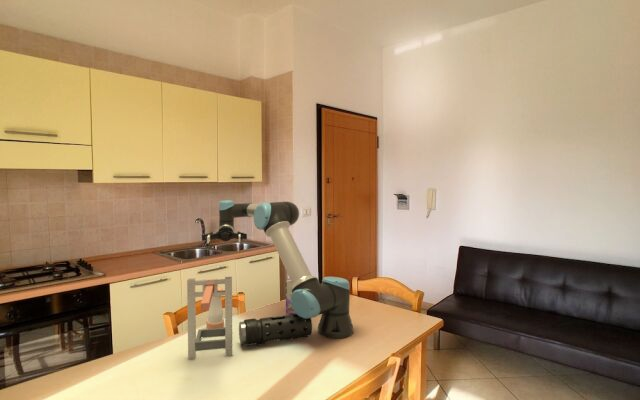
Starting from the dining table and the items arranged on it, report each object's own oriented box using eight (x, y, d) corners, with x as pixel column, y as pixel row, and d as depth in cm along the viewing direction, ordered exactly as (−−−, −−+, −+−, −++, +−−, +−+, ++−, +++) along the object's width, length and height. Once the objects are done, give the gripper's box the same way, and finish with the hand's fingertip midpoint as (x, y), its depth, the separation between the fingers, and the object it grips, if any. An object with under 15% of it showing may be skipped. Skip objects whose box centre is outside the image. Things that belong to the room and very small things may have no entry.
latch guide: (189, 356, 133) (188, 278, 131) (232, 352, 136) (231, 276, 135) (188, 359, 131) (187, 280, 129) (232, 355, 134) (231, 278, 132)
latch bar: (203, 293, 134) (203, 279, 134) (217, 292, 135) (217, 279, 135) (196, 315, 112) (196, 299, 112) (213, 314, 113) (213, 298, 113)
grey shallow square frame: (198, 336, 150) (198, 329, 150) (229, 334, 153) (229, 327, 153) (194, 350, 138) (194, 342, 138) (228, 347, 141) (228, 340, 140)
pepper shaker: (207, 333, 153) (206, 288, 152) (205, 326, 160) (205, 284, 159) (225, 330, 156) (224, 286, 155) (222, 324, 163) (222, 282, 162)
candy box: (316, 312, 178) (316, 279, 177) (313, 317, 173) (313, 282, 172) (289, 310, 181) (289, 277, 180) (285, 314, 176) (285, 280, 175)
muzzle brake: (312, 341, 147) (312, 316, 146) (241, 352, 137) (241, 325, 136) (305, 332, 156) (305, 308, 155) (238, 341, 146) (238, 316, 145)
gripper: (251, 239, 185) (252, 247, 165) (199, 240, 180) (194, 249, 159) (251, 224, 185) (252, 230, 164) (199, 225, 180) (194, 232, 159)
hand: (223, 239), depth 162 cm, fingers open, 13 cm apart
